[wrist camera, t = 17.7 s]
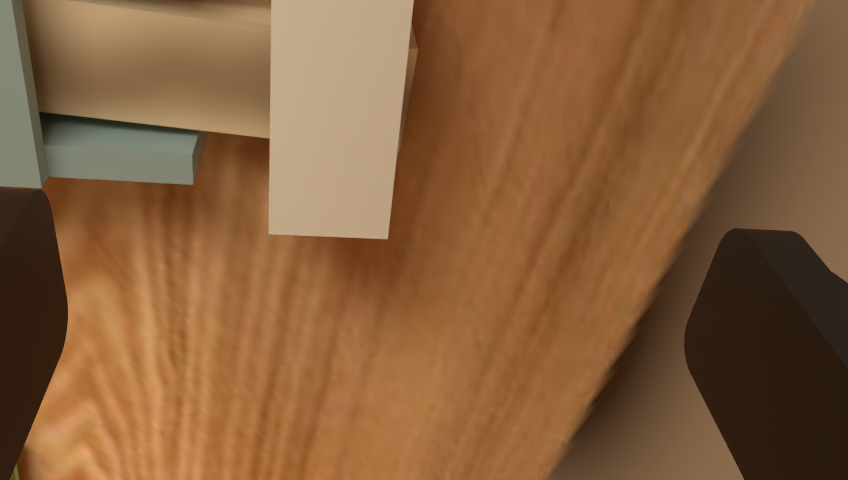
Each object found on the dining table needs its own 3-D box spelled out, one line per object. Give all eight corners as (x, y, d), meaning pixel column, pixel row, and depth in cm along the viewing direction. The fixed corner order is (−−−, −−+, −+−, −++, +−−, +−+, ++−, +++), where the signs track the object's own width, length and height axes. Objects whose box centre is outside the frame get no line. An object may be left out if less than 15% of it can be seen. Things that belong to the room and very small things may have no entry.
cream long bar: (-3, -42, 34) (-39, -15, 31) (410, 19, 37) (418, 50, 34) (9, 68, 37) (-23, 104, 33) (393, 116, 40) (399, 153, 37)
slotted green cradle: (-113, -138, 31) (-197, -110, 26) (200, -105, 33) (177, -72, 28) (-56, 117, 37) (-115, 179, 32) (207, 134, 39) (189, 196, 34)
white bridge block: (378, 153, 40) (387, 239, 34) (278, 147, 40) (268, 234, 33) (401, -97, 34) (419, -51, 27) (283, -110, 33) (271, -66, 27)
